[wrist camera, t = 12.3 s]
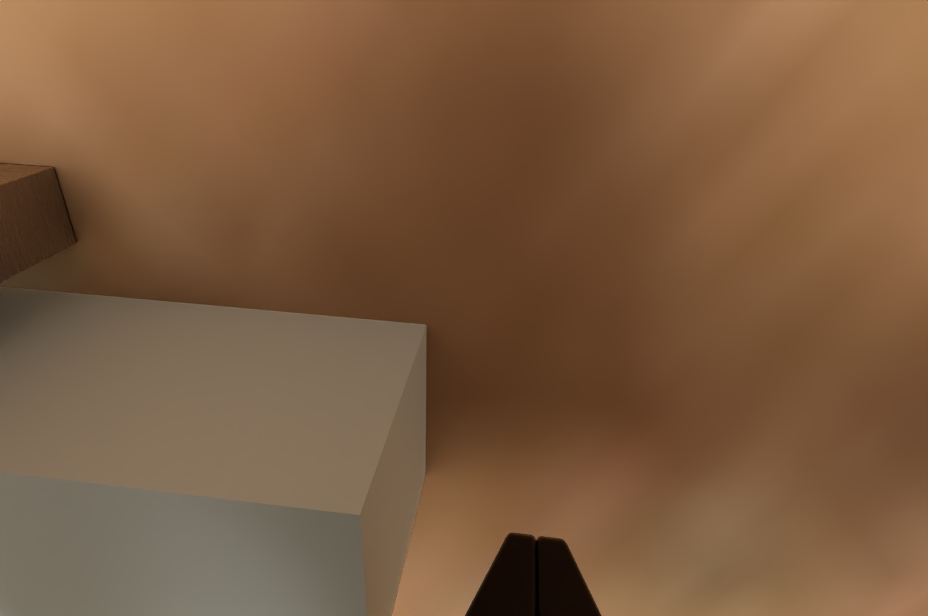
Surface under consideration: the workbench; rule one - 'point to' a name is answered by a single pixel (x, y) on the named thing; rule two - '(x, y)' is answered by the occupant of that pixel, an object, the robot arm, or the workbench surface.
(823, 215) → the workbench surface
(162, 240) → the workbench surface
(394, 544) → the grey rectangular block
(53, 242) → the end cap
